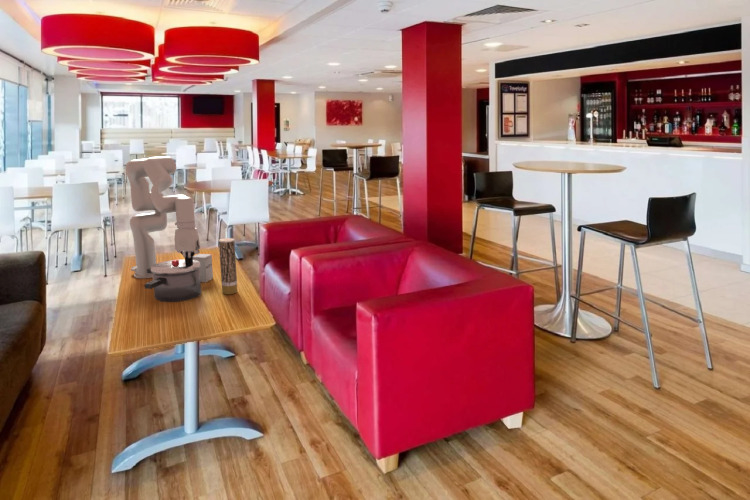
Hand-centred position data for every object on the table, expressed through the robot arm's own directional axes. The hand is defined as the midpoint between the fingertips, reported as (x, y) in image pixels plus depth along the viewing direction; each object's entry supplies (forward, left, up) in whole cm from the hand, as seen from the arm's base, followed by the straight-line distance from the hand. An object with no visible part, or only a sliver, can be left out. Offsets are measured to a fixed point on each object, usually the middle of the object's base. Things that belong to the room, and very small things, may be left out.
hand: (189, 265), depth 244 cm
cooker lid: (-7, 0, -2) cm, 7 cm away
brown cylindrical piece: (+14, +9, -14) cm, 22 cm away
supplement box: (-9, +24, -15) cm, 29 cm away
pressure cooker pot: (-9, -5, -14) cm, 17 cm away
